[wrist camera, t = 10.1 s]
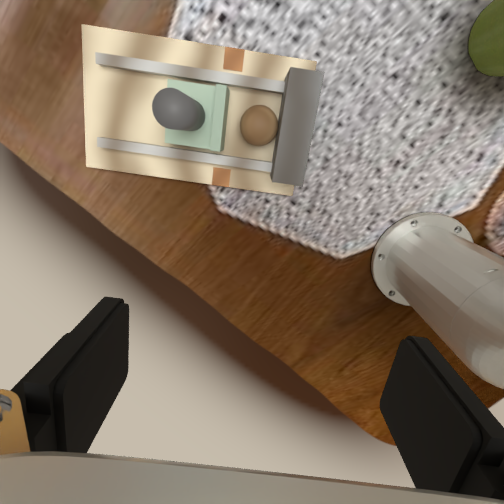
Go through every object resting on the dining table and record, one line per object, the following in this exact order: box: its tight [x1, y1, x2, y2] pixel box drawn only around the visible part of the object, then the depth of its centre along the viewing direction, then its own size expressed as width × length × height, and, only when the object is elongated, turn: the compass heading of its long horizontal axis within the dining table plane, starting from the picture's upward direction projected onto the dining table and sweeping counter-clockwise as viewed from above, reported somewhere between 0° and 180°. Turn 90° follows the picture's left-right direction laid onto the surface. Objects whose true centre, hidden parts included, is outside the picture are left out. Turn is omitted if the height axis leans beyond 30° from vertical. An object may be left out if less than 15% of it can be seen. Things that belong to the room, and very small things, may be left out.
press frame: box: [82, 24, 324, 196], centre depth 33 cm, size 24×14×8 cm, turn 82°
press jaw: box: [152, 79, 230, 152], centre depth 30 cm, size 6×6×10 cm
